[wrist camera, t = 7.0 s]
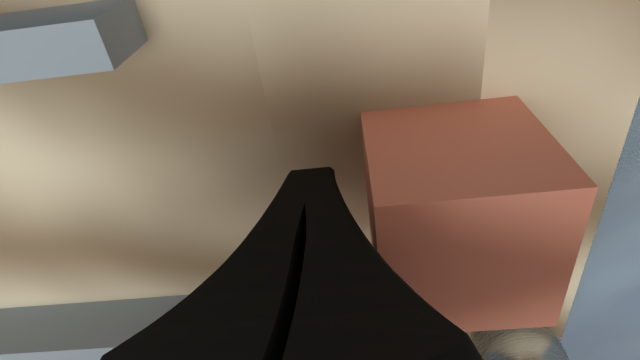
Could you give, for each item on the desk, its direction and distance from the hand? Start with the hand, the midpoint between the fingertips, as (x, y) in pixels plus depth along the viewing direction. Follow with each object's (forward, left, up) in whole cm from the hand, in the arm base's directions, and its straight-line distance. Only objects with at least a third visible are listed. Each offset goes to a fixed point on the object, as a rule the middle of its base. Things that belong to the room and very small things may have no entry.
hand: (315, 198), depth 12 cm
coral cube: (0, -3, -1) cm, 4 cm away
